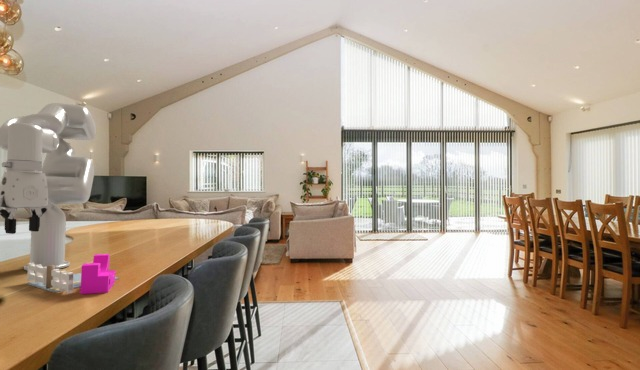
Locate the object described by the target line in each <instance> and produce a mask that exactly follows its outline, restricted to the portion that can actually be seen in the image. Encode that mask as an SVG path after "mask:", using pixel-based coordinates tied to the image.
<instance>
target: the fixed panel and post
mask: <svg viewBox="0 0 640 370" xmlns="http://www.w3.org/2000/svg"><path fill="white" fill-rule="evenodd" d="M73 274H74V272H71V271H70V272H68V271H67V270H61V269H55V265H48V266H47V275H46V288H47V289H50V288H52V289H59V291H60V292H64V291H65V294H72V293H74V289H73Z"/></svg>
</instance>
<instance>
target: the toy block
mask: <svg viewBox="0 0 640 370" xmlns="http://www.w3.org/2000/svg"><path fill="white" fill-rule="evenodd" d="M109 269H110V253H105V254H104V253H103V254H102V253H98V254H97V253H96V254H94V255H93V260H92V262H87V263H83V264H82V265H81V272H80V273H81V287H80V293H79V294H80V295H88V294H89V295H90V294H105V293H106V294H107V293H109V291H110V290H111V289H112V287H114V286H113V285H114V284H115V283H116V280H115V277H116V269H115V270H113V269H112V270H111V269H110V270H109Z"/></svg>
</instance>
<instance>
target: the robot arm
mask: <svg viewBox="0 0 640 370" xmlns="http://www.w3.org/2000/svg"><path fill="white" fill-rule="evenodd" d="M96 135H97V125H96V122H95V120H94V118H93V116H92V113H91V112H90V111H89V109H88V108H87V107H86V106H83V105H81V104H79V105H78V104H69V103H60V102H51V103H48V104H46V105H45V106H43V108H42V109H40V111H38V112H37V113H34V114H33V113H32V114H28V115H23V116H22V115H21V116H17V117H13V118H10V119H8V120H6V121H5V122H4V123H3V124H1V125H0V149H2V150H5V151H7V154H6V157H7V158H6V160H5V162H4V161H3V162H2V163H1V167H2V168H5V170H6V171H4V172H3V175H2V177H1V181H0V216H1V217H2V219H4V231H5V233H6V234H8V235H9V234H10V235H15V234H16V233H17V218H15V217H16V213H17V210H18V209H29V212H30V215H31V216H30V217H29V218H28V220H29V221H28V231H30V248H29V249H30V251H29V252H30V253H29V254H30V255H29V258H30V259H29V263H34V265H42V267H47V266H48V265H55V269H60V270H61V269H64V268H67V267H69V266H70V265H71V262H70V261H68V260H65V259H66V257H65V256H66V255H65V254H66V229H67V227H66V226H67V216H66V213H65V212H64V211H63V210H62V209H61V207H59V205H67V204H68V205H81V204H85V203H87V202H88V201H89V199H90V197H91V194H92V193H91V192H92V188H93V182H94V178H95V164H94V162H93V160H92V159H91V158H89V157H84V156H75V155H76V151H75V149H74V148H73V147H72V146H71V144H70V143H68V142H67V141H66V140H76V141H80V140H81V141H91V140H93V139H94V138H96ZM43 154H45V156H44V157H45V158H44V160H43ZM42 162H43V163H42ZM4 208H5V209H4ZM23 270H25V271H27V272H28V263H27V264H25V265H24V266H23Z"/></svg>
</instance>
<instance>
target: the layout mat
mask: <svg viewBox="0 0 640 370" xmlns="http://www.w3.org/2000/svg"><path fill="white" fill-rule="evenodd" d="M116 280H120V277H117V276H115V281H116ZM25 283H26V284H25V285H29V286H31V285H32V287H35V288H38V289H42V290H45V291H47V292H50V293H54V294H56V293H60V292H61V291H59V289H52V288H50V289H47V288H46V285H45V286H44V285H42V282H40V283H35V280H33V281H27V282H25ZM78 288H79V289H80V288H81V272H78V273H73V290H74V289H78Z"/></svg>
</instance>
